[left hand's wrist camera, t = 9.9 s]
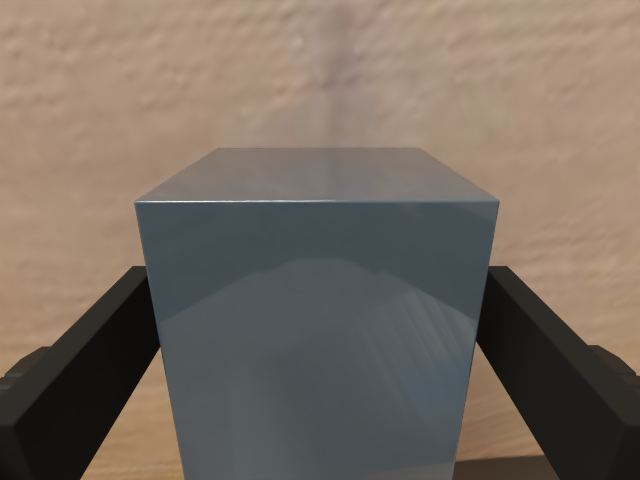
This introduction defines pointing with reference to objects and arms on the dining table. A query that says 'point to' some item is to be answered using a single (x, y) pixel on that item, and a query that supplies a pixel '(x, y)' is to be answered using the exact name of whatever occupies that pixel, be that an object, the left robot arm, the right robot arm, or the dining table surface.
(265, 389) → the block
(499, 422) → the dining table surface
